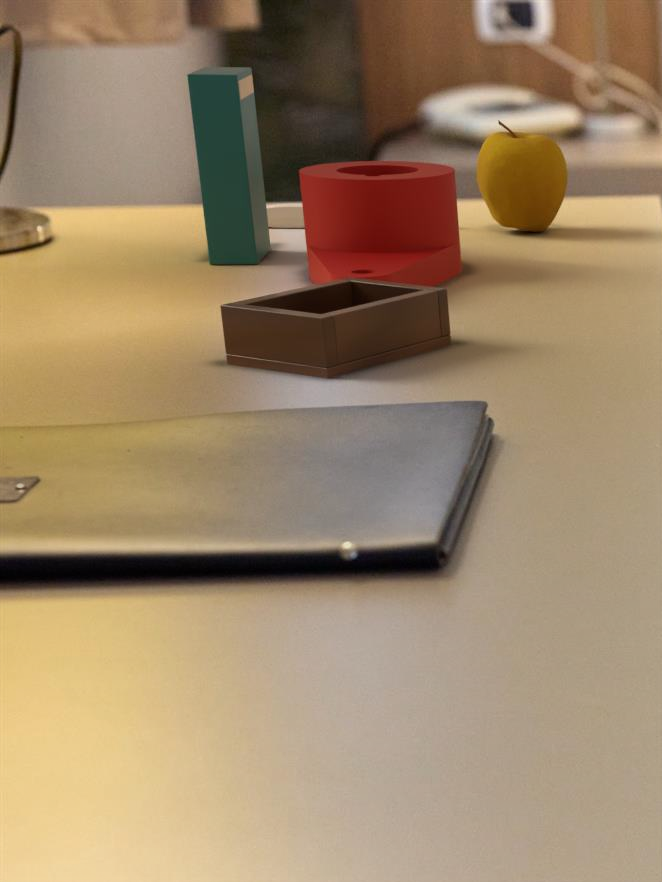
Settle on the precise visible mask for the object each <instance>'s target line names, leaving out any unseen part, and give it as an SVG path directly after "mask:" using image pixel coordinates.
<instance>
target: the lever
mask: <svg viewBox="0 0 662 882" xmlns="http://www.w3.org/2000/svg"><path fill="white" fill-rule="evenodd" d="M455 170H456V169H455V168H454V167H452V166H450V165H446V164H440V163H434V162H433V163H432V162H424V161H423V162H422V161H406V160H361V161H360V160H358V161H339V162H328V163H320V164H314V165H308V166H305V167H302V168H300V169H299V170H298V175H299V186H300V195H301V204H302V206H303V216H304V226H305V228H304V233H305V234H304V235H305V245H306V257H307V265H308V266H307V267H308V275H309V280H310V281H311V283H312V285H316V284H321V283H325V282H330V281H335V280H339V279H344V278H349V277H353V278H361V279H370V280H378V281H387V282H395V283H403V284H412V285H420V286H429V287H436V286H438V285H440V284H442V283H444V282H446V281H448V280H450V279H452V278H454V277H457V276H458V275H460V274H461V273H462V271H463V268H462V267H463V266H462V253H461V239H460V225H459V211H458V197H457V183H456V182H457V181H456V171H455Z"/></svg>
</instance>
